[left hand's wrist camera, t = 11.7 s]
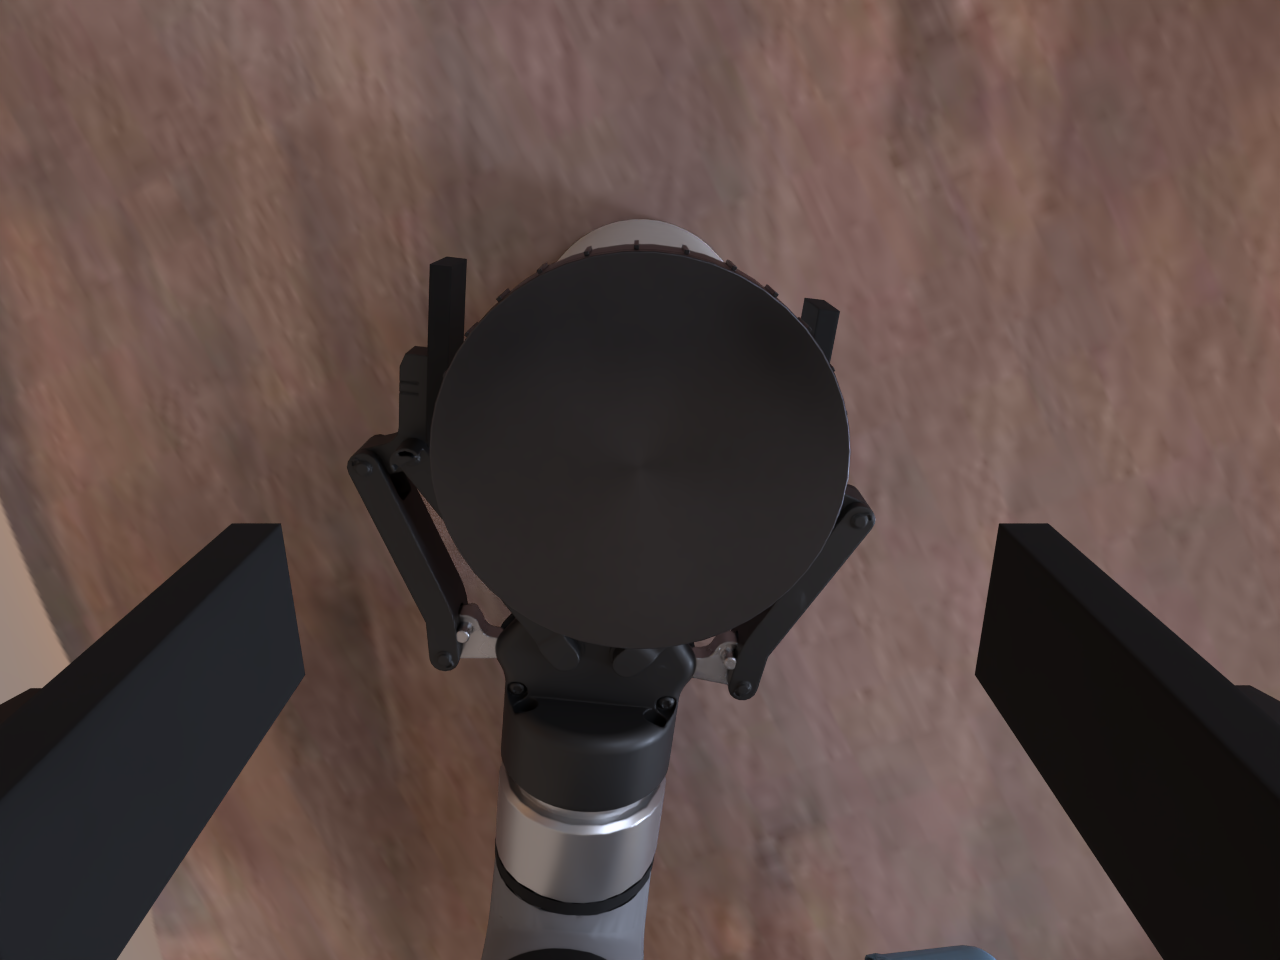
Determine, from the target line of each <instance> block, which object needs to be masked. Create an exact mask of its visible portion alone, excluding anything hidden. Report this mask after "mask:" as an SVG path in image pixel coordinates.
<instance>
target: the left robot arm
mask: <svg viewBox="0 0 1280 960" xmlns="http://www.w3.org/2000/svg"><path fill="white" fill-rule="evenodd" d="M304 676H305V671H304V664H303V658H302V652H301V646H300V639H299V633H298V627H297V621H296V615H295V608H294V602H293V596H292V590H291V583H290V577H289V571H288V565H287V559H286V552H285V546H284V540H283V534H282V528H281V524H231V525H230V526H228V527H227V528H226V529H225V530H224V531H223V532H222V533H220V534H219V535H218V536H217V537H216V538H215V539H213V540H212V541H211V542H210V543H209V544H208V545H207V546H205V547H204V548H203V549H202V550H201V551H200V552H199V553H197V554H196V555H195V556H194V557H193V558H192V559H190V560H189V561H188V562H187V563H186V564H185V565H184V566H182V567H181V568H180V569H179V570H178V571H177V572H175V573H174V574H173V575H172V576H171V577H170V578H169V579H167V580H166V581H165V582H164V583H163V584H162V585H160V586H159V587H158V588H157V589H156V590H155V591H154V592H152V593H151V594H150V595H149V596H148V597H147V598H146V599H144V600H143V601H142V602H141V603H140V604H139V605H137V606H136V607H135V608H134V609H133V610H132V611H131V612H129V613H128V614H127V615H126V616H125V617H124V618H122V619H121V620H120V621H119V622H118V623H117V624H116V625H114V626H113V627H112V628H111V629H110V630H109V631H108V632H106V633H105V634H104V635H103V636H102V637H101V638H99V639H98V640H97V641H96V642H95V643H94V644H93V645H91V646H90V647H89V648H88V649H87V650H86V651H84V652H83V653H82V654H81V655H80V656H79V657H78V658H76V659H75V660H74V661H73V662H72V663H71V664H70V665H68V666H67V667H66V668H65V669H64V670H63V671H61V672H60V673H59V674H58V675H57V676H56V677H55V678H53V679H52V680H51V681H50V682H49V683H48V684H46V685H45V686H44V687H43V688H30V689H29V690H27V691H25V692H23V693H21V694H19V695H17V696H16V697H14V698H12V699H10V700H8V701H6V702H4V703H2V704H1V705H0V960H117V958H118V957H119V955H120V954H121V952H122V951H123V949H124V948H125V946H126V945H127V943H128V941H129V940H130V938H131V937H132V935H133V934H134V932H135V931H136V929H137V928H138V926H139V925H140V923H141V922H142V920H143V919H144V917H145V916H146V914H147V913H148V911H149V910H150V908H151V907H152V905H153V904H154V902H155V901H156V899H157V898H158V896H159V895H160V893H161V892H162V890H163V889H164V887H165V886H166V884H167V883H168V881H169V880H170V878H171V877H172V875H173V874H174V872H175V871H176V869H177V868H178V866H179V865H180V863H181V861H182V860H183V858H184V857H185V855H186V854H187V852H188V851H189V849H190V848H191V846H192V845H193V843H194V842H195V840H196V839H197V837H198V836H199V834H200V833H201V831H202V830H203V828H204V827H205V825H206V824H207V822H208V821H209V819H210V818H211V816H212V815H213V813H214V812H215V810H216V809H217V807H218V806H219V804H220V803H221V801H222V800H223V798H224V797H225V795H226V794H227V792H228V791H229V789H230V788H231V786H232V784H233V783H234V781H235V780H236V778H237V777H238V775H239V774H240V772H241V771H242V769H243V768H244V766H245V765H246V763H247V762H248V760H249V759H250V757H251V756H252V754H253V753H254V751H255V750H256V748H257V747H258V745H259V744H260V742H261V741H262V739H263V738H264V736H265V735H266V733H267V732H268V730H269V729H270V727H271V726H272V724H273V723H274V721H275V720H276V718H277V717H278V715H279V714H280V712H281V711H282V709H283V707H284V706H285V704H286V703H287V701H288V700H289V698H290V697H291V695H292V694H293V692H294V691H295V689H296V688H297V686H298V685H299V683H300V682H301V680H302V679H303V677H304ZM975 676H976V677H977V679H978V680H979V682H980V683H981V685H982V686H983V688H984V689H985V691H986V692H987V694H988V695H989V697H990V698H991V700H992V701H993V703H994V704H995V706H996V707H997V709H998V711H999V712H1000V714H1001V715H1002V717H1003V718H1004V720H1005V721H1006V723H1007V724H1008V726H1009V727H1010V729H1011V730H1012V732H1013V733H1014V735H1015V736H1016V738H1017V739H1018V741H1019V742H1020V744H1021V745H1022V747H1023V748H1024V750H1025V751H1026V753H1027V754H1028V756H1029V757H1030V759H1031V760H1032V762H1033V763H1034V765H1035V766H1036V768H1037V769H1038V771H1039V772H1040V774H1041V775H1042V777H1043V778H1044V780H1045V781H1046V783H1047V784H1048V786H1049V788H1050V789H1051V791H1052V792H1053V794H1054V795H1055V797H1056V798H1057V800H1058V801H1059V803H1060V804H1061V806H1062V807H1063V809H1064V810H1065V812H1066V813H1067V815H1068V816H1069V818H1070V819H1071V821H1072V822H1073V824H1074V825H1075V827H1076V828H1077V830H1078V831H1079V833H1080V834H1081V836H1082V837H1083V839H1084V840H1085V842H1086V843H1087V845H1088V846H1089V848H1090V849H1091V851H1092V852H1093V854H1094V855H1095V857H1096V858H1097V860H1098V861H1099V863H1100V865H1101V866H1102V868H1103V869H1104V871H1105V872H1106V874H1107V875H1108V877H1109V878H1110V880H1111V881H1112V883H1113V884H1114V886H1115V887H1116V889H1117V890H1118V892H1119V893H1120V895H1121V896H1122V898H1123V899H1124V901H1125V902H1126V904H1127V905H1128V907H1129V908H1130V910H1131V911H1132V913H1133V914H1134V916H1135V917H1136V919H1137V920H1138V922H1139V923H1140V925H1141V926H1142V928H1143V929H1144V931H1145V932H1146V934H1147V935H1148V937H1149V938H1150V940H1151V942H1152V943H1153V945H1154V946H1155V948H1156V949H1157V951H1158V952H1159V954H1160V955H1161V957H1162V958H1163V960H1280V701H1278V700H1277V699H1275V698H1273V697H1271V696H1269V695H1267V694H1265V693H1263V692H1261V691H1260V690H1258V689H1256V688H1254V687H1252V686H1250V685H1234V684H1232V683H1231V682H1230V681H1229V680H1228V679H1227V678H1225V677H1224V676H1223V675H1222V674H1221V673H1220V672H1219V671H1217V670H1216V669H1215V668H1214V667H1213V666H1212V665H1210V664H1209V663H1208V662H1207V661H1206V660H1205V659H1204V658H1202V657H1201V656H1200V655H1199V654H1198V653H1197V652H1196V651H1194V650H1193V649H1192V648H1191V647H1190V646H1189V645H1187V644H1186V643H1185V642H1184V641H1183V640H1182V639H1181V638H1179V637H1178V636H1177V635H1176V634H1175V633H1174V632H1172V631H1171V630H1170V629H1169V628H1168V627H1167V626H1166V625H1164V624H1163V623H1162V622H1161V621H1160V620H1159V619H1158V618H1156V617H1155V616H1154V615H1153V614H1152V613H1151V612H1149V611H1148V610H1147V609H1146V608H1145V607H1144V606H1143V605H1141V604H1140V603H1139V602H1138V601H1137V600H1136V599H1134V598H1133V597H1132V596H1131V595H1130V594H1129V593H1128V592H1126V591H1125V590H1124V589H1123V588H1122V587H1121V586H1120V585H1118V584H1117V583H1116V582H1115V581H1114V580H1113V579H1111V578H1110V577H1109V576H1108V575H1107V574H1106V573H1105V572H1103V571H1102V570H1101V569H1100V568H1099V567H1098V566H1096V565H1095V564H1094V563H1093V562H1092V561H1091V560H1090V559H1088V558H1087V557H1086V556H1085V555H1084V554H1083V553H1081V552H1080V551H1079V550H1078V549H1077V548H1076V547H1075V546H1073V545H1072V544H1071V543H1070V542H1069V541H1068V540H1067V539H1065V538H1064V537H1063V536H1062V535H1061V534H1060V533H1058V532H1057V531H1056V530H1055V529H1054V528H1053V527H1052V526H1050V525H1049V524H999V528H998V534H997V540H996V546H995V552H994V559H993V565H992V571H991V577H990V583H989V590H988V596H987V602H986V608H985V615H984V621H983V627H982V633H981V639H980V646H979V652H978V658H977V664H976V671H975Z"/></svg>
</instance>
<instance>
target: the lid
mask: <svg viewBox="0 0 1280 960" xmlns="http://www.w3.org/2000/svg"><path fill="white" fill-rule="evenodd" d="M778 295H779V294H778V293H776V292H775V291H774V290H773V289H772V288H771V287H770V286H769V285H766V286H765V287H763V286H762V285H761V284H760V283H758V282H757V281H756V280H755V279H753V278H752V277H750V276H748V275H747V274H745V273H743V272H742V271H740V270H738V269H737V267H736V266H735V265H734V264H733V263H732V262H731V261H729V260H727V261H726V263H725V262H722V261H720V260H717V259H715V258H713V257H710V256H708V255H705V254H702V253H698V252H694V251H691V250H689V249H688V247H687V245H682V247H681V248H680V247H672V246H664V245H657V244H639V240H634V244H622V245H615V246H608V247H601V248H596V249H593V250H592V246H589V247H587V248H586V249H585V251H584V252H582V253H579V254H575V255H572V256H569V257H567V258H565V259H562V260H560V261H558V262H556V263H553V264H551V265H548V263H545V264H543V265H542V266H541V267H540V268H539V269H538V270H537V273H535V274H534V275H532V276H530V277H529V278H527V279H525V280H524V281H523V282H521V283H520V284H519V285H518V286H516V287H515V288H514V289H513V290H512V291H510V290H509V289H507V290H505V291H504V292H503V293H502V294H501V295H500V296H499V297H498V298H497V299H496V300H497V301H498V303H497V304H496V305H495V306H494V307H492V308H491V309H490V311H489V312H488V313H487V314H486V315H485V316H484V317H483V318H482V319H481V320H480V321H479V323H478V322H477V323H475V324H474V325H473V326H472V327H471V328H470V329H469V330H468V331H467V332H466V333H465V336H466V337H467V338H466V339H465V340H464V342H463V343H462V345H461V346H460V348H459V349H458V351H457V352H456V354H455V356H454V358H453V360H452V362H451V364H450V366H449V368H448V369H447V370H446V372H445V373H444V374H443V377H444V378H443V381H442V384H441V387H440V390H439V393H438V396H437V399H436V402H435V408H434V413H433V417H432V424H431V432H430V465H431V475H432V483H433V487H434V491H435V495H436V499H437V504H438V507H439V510H440V512H441V515H442V517H443V520H444V523H445V525H446V528H447V530H448V532H449V534H450V536H451V538H452V539H453V541H454V543H455V545H456V547H457V549H458V550H459V552H460V554H461V555H462V556H463V558H464V559H465V561H466V562H467V563H468V565H469V566H470V567H471V569H472V570H473V572H474V573H475V574H476V575H477V576H478V577H479V578H480V579H481V580H482V581H483V583H484V584H485V585H486V586H487V587H488V588H489V589H490V590H491V591H492V592H493V593H494V594H496V595H497V596H498V597H499V598H500V599H502V600H503V601H504V602H505V603H506V604H508V605H509V606H510V607H511V608H513V609H514V610H516V611H517V612H519V613H520V614H522V615H524V616H525V617H527V618H528V619H530V620H531V621H533V622H535V623H537V624H539V625H541V626H543V627H545V628H547V629H549V630H551V631H553V632H556V633H559V634H561V635H564V636H567V637H570V638H573V639H576V640H578V641H583V642H587V643H592V644H596V645H600V646H606V647H615V648H625V649H656V648H665V647H673V646H680V645H684V644H688V643H693V642H697V641H701V640H705V639H707V638H710V637H713V636H716V635H718V634H721V633H724V632H727V631H729V630H731V629H733V628H735V627H737V626H739V625H741V624H743V623H745V622H747V621H749V620H750V619H752V618H753V617H755V616H756V615H758V614H759V613H761V612H763V611H764V610H766V609H767V608H769V607H770V606H771V605H773V604H774V603H775V602H776V601H777V600H778V599H780V598H781V597H782V596H783V595H784V594H785V593H787V592H788V591H789V590H790V589H791V588H792V587H793V586H794V585H795V584H796V583H797V581H798V580H799V579H800V578H801V577H802V576H803V575H804V574H805V573H806V572H807V570H808V569H809V568H810V566H811V565H812V563H813V562H814V560H815V559H816V558H817V556H818V555H819V553H820V552H821V551H822V549H823V547H824V545H825V543H826V541H827V539H828V537H829V536H830V534H831V532H832V530H833V528H834V525H835V523H836V520H837V517H838V515H839V512H840V509H841V507H842V504H843V500H844V495H845V491H846V486H847V482H848V476H849V464H850V435H849V424H848V419H847V411H846V408H845V403H844V399H843V396H842V393H841V391H840V388H839V385H838V382H837V379H836V376H835V374H834V371H835V370H834V367H833V366H832V365H831V364H830V363H829V362H828V360H827V358H826V356H825V354H824V352H823V350H822V349H821V348H820V346H819V345H818V343H817V342H816V341H815V339H814V338H813V336H812V335H811V333H810V331H811V330H812V329H811V328H810V327H809V326H808V325H807V324H806V323H805V322H804V321H803V320H802V319H801V318H800V317H798V318H797V317H796V316H795V315H794V314H793V313H792V312H791V311H790V310H789V309H788V308H787V307H786V306H785V305H784V304H783V303H782V302H781V301H780V300H779V299H778V298H777V296H778Z"/></svg>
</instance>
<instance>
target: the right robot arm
mask: <svg viewBox="0 0 1280 960" xmlns="http://www.w3.org/2000/svg"><path fill="white" fill-rule="evenodd" d="M466 266H467V259H462V258H454V257H445V258H443V259H441V260H438V261H436V262H434V263H432V264H430V278H429V317H428V347H419V346H414V347H413V348H412V349H411V350H409V351H408V352H407V353H406V354H405V356H404V358H403V360H402V362H401V365H400V385H399V391H400V393H399V429H398V432H397V433H393V434H389V435H381V434H379V435H374V436H373V437H371V438H370V439H369V440H368V441H367V442H366V443H365V444H364V445H363V446H362V447H361V448H360V449H359V450H358V451H357V452H356V453H355V454H354V455H353V456H352V457H351V458H350V459H349V461H348V465H347V469H348V472H349V475H350V477H351V479H352V481H353V482H354V484H355V486H356V488H357V490H358V492H359V494H360V496H361V498H362V500H363V502H364V504H365V506H366V508H367V510H368V512H369V513H370V515H371V517H372V519H373V521H374V523H375V525H376V527H377V529H378V531H379V533H380V535H381V537H382V539H383V541H384V543H385V544H386V546H387V548H388V550H389V552H390V554H391V556H392V558H393V560H394V562H395V564H396V566H397V568H398V570H399V572H400V574H401V575H402V577H403V579H404V581H405V583H406V585H407V587H408V589H409V591H410V593H411V595H412V597H413V599H414V601H415V603H416V605H417V606H418V608H419V610H420V612H421V614H422V616H423V618H424V620H425V622H426V628H427V638H428V647H429V657H430V661H431V664H432V665H433V666H434V667H435V668H437V669H438V670H442V671H449V670H452V669H454V668H455V667H456V666H457V664H458V662H459V660H460V658H497V659H498V661H499V663H500V665H501V666H502V669H503V671H504V674H505V681H506V682H505V698H504V712H503V727H502V742H501V757H502V763H501V767H500V771H499V785H498V802H497V820H496V839H495V865H494V875H493V885H492V894H491V905H490V914H489V921H488V928H487V934H486V939H485V944H484V949H483V954H482V959H481V960H644V952H643V950H644V929H645V918H646V910H647V901H648V892H649V884H650V875H651V869H652V865H653V860H654V854H655V851H656V847H657V840H658V833H659V826H660V820H661V813H662V806H663V799H664V792H665V783H666V779H665V775H666V773H667V770H668V766H669V759H670V753H671V746H672V740H673V733H674V726H675V720H676V713H677V707H678V700H679V696H680V693H681V691H682V689H683V688H684V686H685V685H686V684H687V683H688V682H689V680H690V679H691V678H697V679H702V680H707V681H712V682H717V683H722V684H727V685H728V689H729V692H730V695H731V696H733V697H734V698H735V699H738V700H747V699H750V698H751V697H752V696H754V695H755V693H756V691H757V689H758V686H759V682H760V679H761V676H762V673H763V670H764V667H765V664H766V661H767V658H768V656H769V655H770V654H771V653H772V651H773V650H774V649H775V648H776V646H777V645H778V644H779V643H780V641H781V640H782V639H783V638H784V636H785V635H786V634H787V633H788V632H789V630H790V629H791V628H792V627H793V625H794V624H795V623H796V622H797V620H798V619H799V618H800V617H801V615H802V614H803V613H804V612H805V611H806V609H807V608H808V607H809V606H810V604H811V603H812V602H813V601H814V599H815V598H816V597H817V596H818V595H819V593H820V592H821V591H822V590H823V588H824V587H825V586H826V585H827V583H828V582H829V581H830V580H831V578H832V577H833V576H834V575H835V574H836V572H837V571H838V570H839V569H840V567H841V566H842V565H843V564H844V562H845V561H846V560H847V559H848V557H849V556H850V555H851V554H852V553H853V551H854V550H855V549H856V548H857V546H858V545H859V544H860V543H861V541H862V540H863V539H864V538H865V536H866V535H867V534H868V533H869V532H870V530H871V529H872V527H873V526H874V524H875V516H874V513H873V511H872V510H871V508H870V507H869V506H868V504H867V503H866V501H865V500H864V498H863V497H862V495H861V494H860V492H859V491H858V490H857V489H856V488H855V487H854V486H852V485H847V486H846V491H845V495H844V500H843V504H842V507H841V509H840V512H839V515H838V517H837V520H836V523H835V525H834V528H833V530H832V532H831V534H830V536H829V537H828V539H827V541H826V543H825V545H824V547H823V549H822V551H821V552H820V553H819V555H818V556H817V558H816V559H815V560H814V562H813V563H812V565H811V566H810V568H809V569H808V570H807V572H806V573H805V574H804V575H803V576H802V577H801V578H800V579H799V580H798V581H797V583H796V584H795V585H794V586H793V587H792V588H791V589H790V590H789V591H788V592H787V593H785V594H784V595H783V596H782V597H781V598H780V599H778V600H777V601H776V602H775V603H774V604H773V605H771V606H770V607H769V608H767V609H766V610H764V611H763V612H761V613H759V614H758V615H756V616H755V617H753V618H752V619H750V620H749V621H747V622H745V623H743V624H741V625H739V626H737V627H735V628H733V629H731V631H730V630H729V631H727V632H724V633H721V634H718V635H716V636H715V638H714V639H713V641H712V642H711V643H710V644H709V645H707V646H704V647H695V646H694V642H693V643H688V644H684V645H680V646H673V647H665V648H656V649H625V648H615V647H606V646H600V645H596V644H592V643H587V642H583V641H578V640H576V639H573V638H570V637H567V636H564V635H561V634H559V633H556V632H553V631H551V630H549V629H547V628H545V627H543V626H541V625H539V624H537V623H535V622H533V621H531V620H530V619H528V618H527V617H525V616H524V615H522V614H520V613H519V612H517V611H516V610H514V609H513V608H511V607H510V606H509V605H508V604H506V603H505V602H504V601H503V600H502V599H501V600H502V601H503V603H504V604H505V605H506V606H507V608H508V609H509V610H510V611H511V612H512V614H511V615H510V616H509V617H508V618H507V619H506V620H505V621H504V622H503V624H502V626H501V627H496V626H492V625H490V624H489V623H488V622H487V621H486V620H485V618H484V616H483V613H482V611H481V610H480V609H479V607H478V605H477V604H475V603H470V604H468V602H467V595H466V592H465V588H464V585H463V583H462V580H461V578H460V576H459V574H458V572H457V570H456V568H455V565H454V563H453V561H452V559H451V557H450V555H449V553H448V551H447V549H446V547H445V545H444V543H443V541H442V539H441V537H440V535H439V533H438V531H437V529H436V527H435V525H434V523H433V521H432V518H431V516H430V514H429V512H428V510H427V508H426V506H425V504H424V502H423V500H422V498H421V496H420V494H419V492H418V490H419V491H420V492H421V494H422V495H423V496H424V497H425V499H426V500H427V501H428V502H429V504H430V505H431V506H432V507H433V508H434V510H435V511H436V512H437V513H438V515H439V516H440V517H441V518H442V519H443V517H442V515H441V512H440V510H439V507H438V504H437V499H436V495H435V491H434V487H433V483H432V475H431V465H430V432H431V424H432V417H433V413H434V408H435V402H436V399H437V396H438V393H439V390H440V387H441V384H442V381H443V378H444V377H443V374H444V373H445V372H446V370H447V369H448V368H449V366H450V364H451V362H452V360H453V358H454V356H455V354H456V352H457V351H458V349H459V348H460V346H461V345H462V343H463V340H464V316H465V291H466ZM839 313H840V311H839V310H837V309H836V308H834V307H833V306H832V305H830V304H829V303H827V302H826V301H825V300H818V299H810V298H805V299H804V305H803V310H802V316H801V319H802V320H803V321H804V322H805V323H806V324H807V325H808V326H809V327H810V328H811V329H812V330H811V331H810V333H811V335H812V336H813V338H814V339H815V341H816V342H817V343H818V345H819V346H820V348H821V349H822V350H823V352H824V354H825V356H826V358H827V360H828V362H829V363H830V360H831V355H832V349H833V344H834V339H835V334H836V329H837V324H838V318H839ZM417 489H418V490H417ZM443 521H444V520H443ZM865 960H996V959H995V958H994V957H993V956H991V955H990V954H988V953H987V952H985V951H984V950H982V949H979V948H977V947H973V946H965V945H961V946H951V947H942V948H933V949H925V950H916V951H907V952H898V953H889V954H878V953H874V954H869V955H866V956H865Z"/></svg>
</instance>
